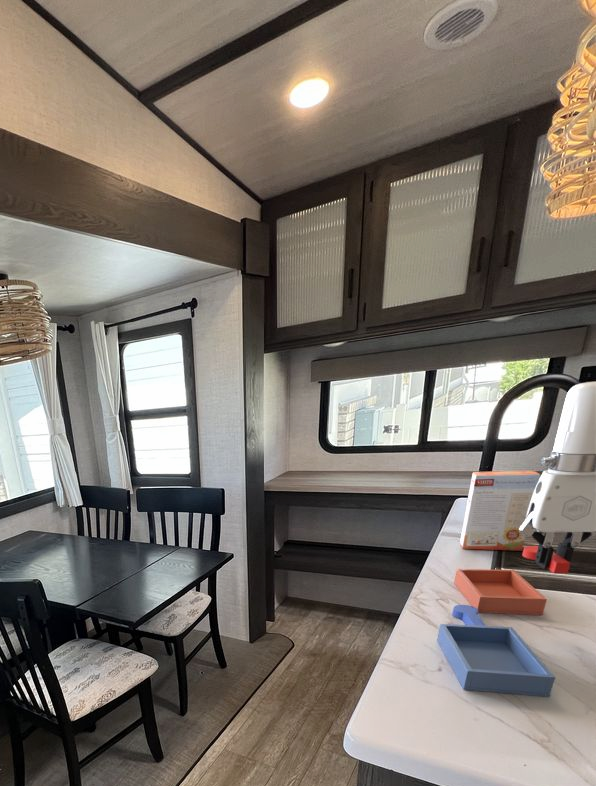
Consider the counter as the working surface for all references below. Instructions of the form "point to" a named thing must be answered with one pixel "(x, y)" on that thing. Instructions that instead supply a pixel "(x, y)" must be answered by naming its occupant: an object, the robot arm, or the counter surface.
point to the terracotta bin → (499, 592)
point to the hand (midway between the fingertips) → (551, 565)
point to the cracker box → (497, 509)
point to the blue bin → (494, 660)
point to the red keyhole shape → (555, 564)
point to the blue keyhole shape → (467, 615)
